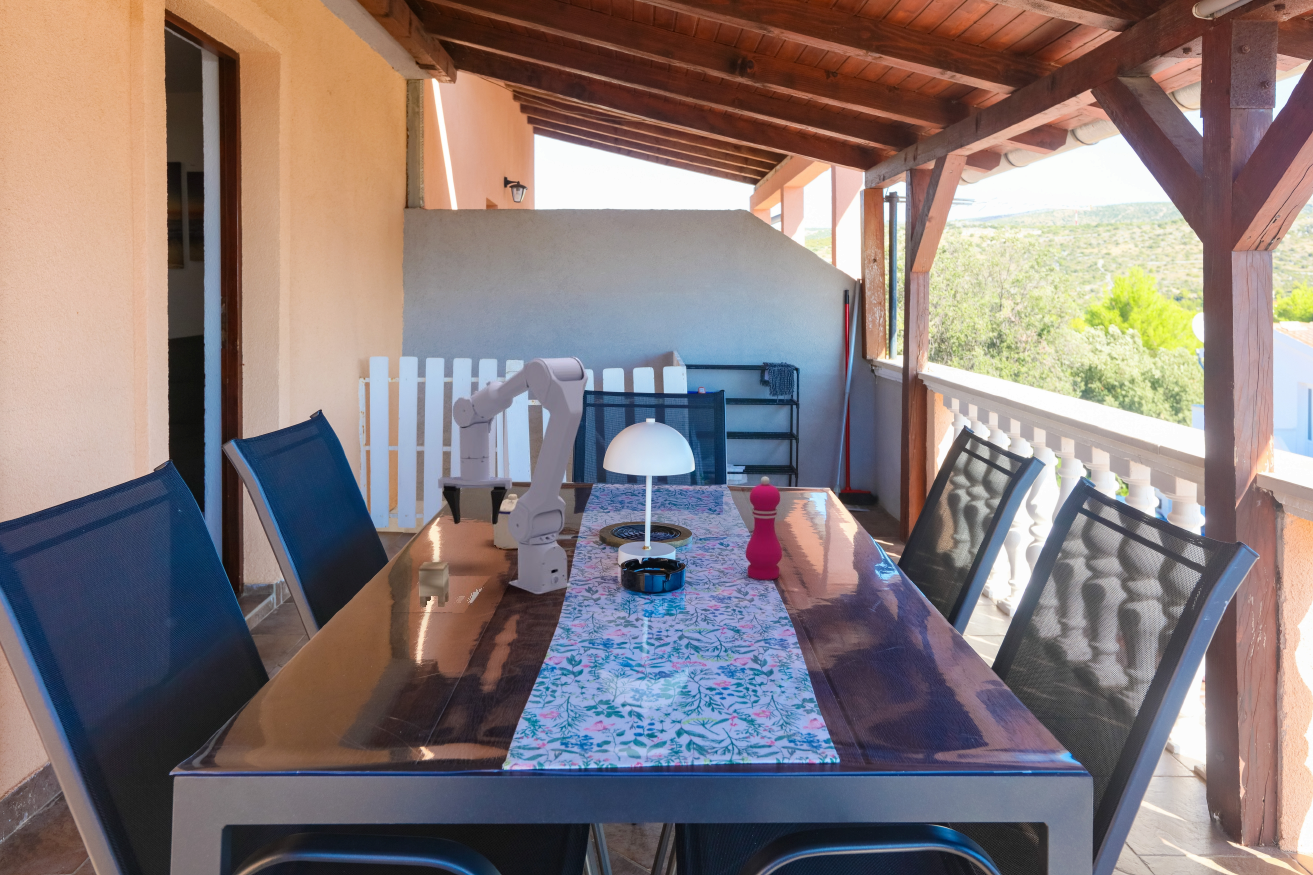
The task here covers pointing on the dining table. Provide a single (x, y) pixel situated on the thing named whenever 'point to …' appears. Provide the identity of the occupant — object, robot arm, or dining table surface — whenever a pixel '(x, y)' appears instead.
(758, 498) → the pepper mill
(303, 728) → the dining table surface
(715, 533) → the dining table surface
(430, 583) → the beige notched block
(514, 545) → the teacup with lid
